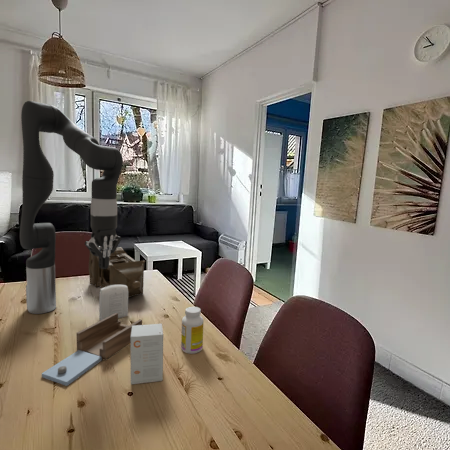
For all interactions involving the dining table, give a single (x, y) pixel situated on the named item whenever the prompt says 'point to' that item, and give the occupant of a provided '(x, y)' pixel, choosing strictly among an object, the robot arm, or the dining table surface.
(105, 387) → the dining table surface
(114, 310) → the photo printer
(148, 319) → the dining table surface
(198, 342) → the supplement bottle
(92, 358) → the lid
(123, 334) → the box
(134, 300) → the dining table surface
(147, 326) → the small box
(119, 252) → the ornamental box
